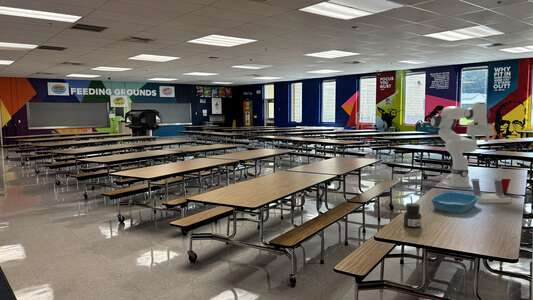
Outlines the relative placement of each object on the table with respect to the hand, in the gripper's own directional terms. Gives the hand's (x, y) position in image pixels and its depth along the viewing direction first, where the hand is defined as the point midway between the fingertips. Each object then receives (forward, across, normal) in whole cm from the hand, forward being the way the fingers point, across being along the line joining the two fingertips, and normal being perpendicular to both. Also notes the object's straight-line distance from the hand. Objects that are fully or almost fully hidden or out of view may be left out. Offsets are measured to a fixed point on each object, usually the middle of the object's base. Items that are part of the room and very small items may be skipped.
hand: (480, 141), depth 286 cm
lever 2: (+37, +3, +23) cm, 44 cm away
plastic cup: (+39, -16, +1) cm, 43 cm away
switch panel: (+41, +11, +22) cm, 48 cm away
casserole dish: (+43, +46, +36) cm, 73 cm away
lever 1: (+37, +19, +21) cm, 47 cm away
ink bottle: (+47, +92, +69) cm, 124 cm away
